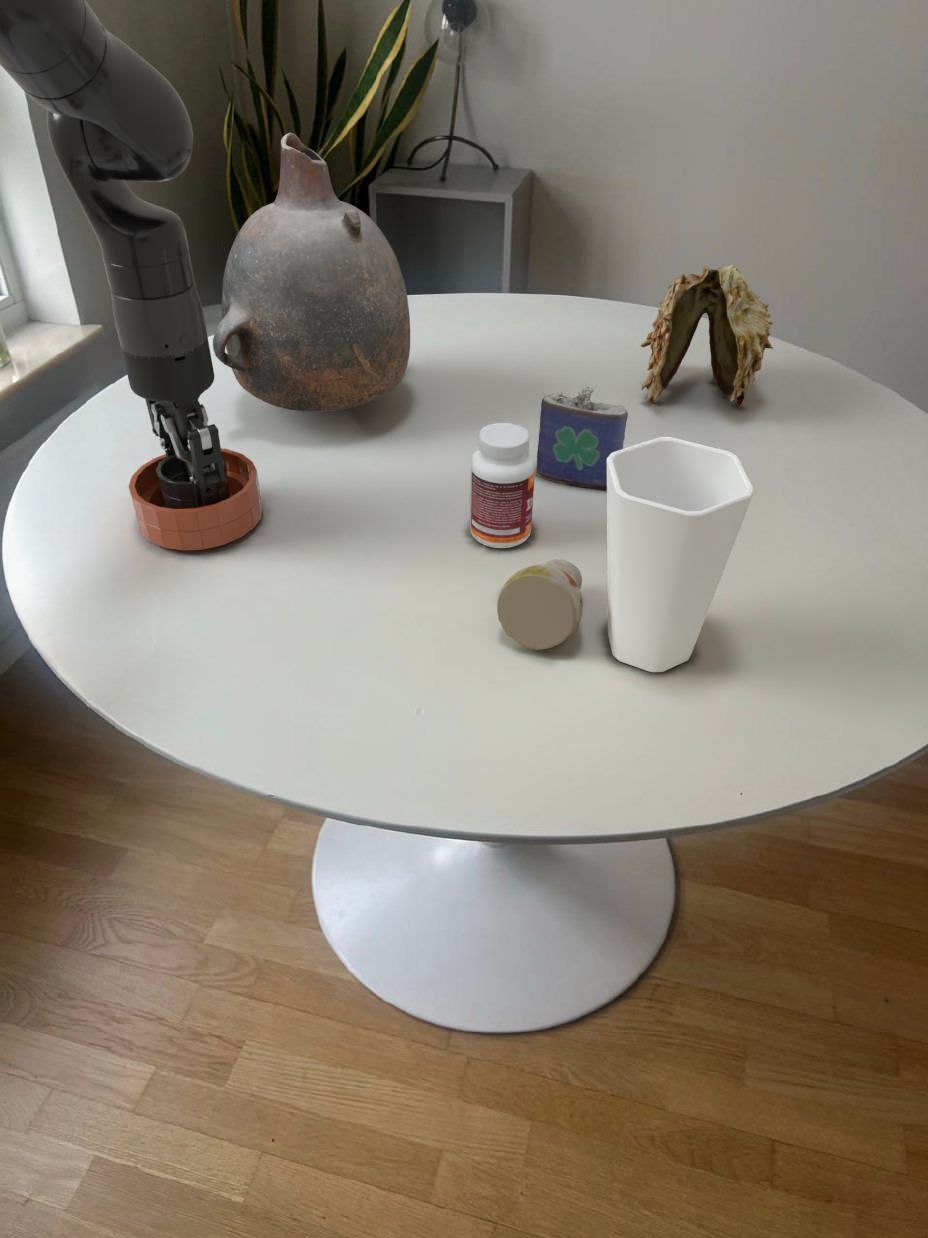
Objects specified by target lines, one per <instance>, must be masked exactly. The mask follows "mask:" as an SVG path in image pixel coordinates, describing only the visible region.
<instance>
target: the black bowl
mask: <svg viewBox="0 0 928 1238" xmlns="http://www.w3.org/2000/svg"><path fill="white" fill-rule="evenodd" d="M189 451H190V450H189ZM222 460H223V458H222ZM223 467H224V473H225V481H222V482H218V483H217V487H218V492H219V498H220V502H221V501H224V500H226V499H228V498H229V497H230V490H229V484H228V479H227V473H226V467H225V462H224V460H223ZM205 468H208V466H207V465H206V466H204V467H203V469H205ZM156 471H157V476H158V480H159V484H160V488H161V493H162V497H163V501H164V504H165V507H166V508H172V509H190V508H196V503H195V498H194V493H193V488H192V484H191V481H190V479H189V474H188V471H187V468H186V465H185V463H184V462H181V461H179V460H178V458H177V456H176V454H173V455H171V456H168V457H167V458H165V459H164V460H163V461H161V462H160V463H159V465H158V467H157V469H156Z"/></svg>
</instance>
